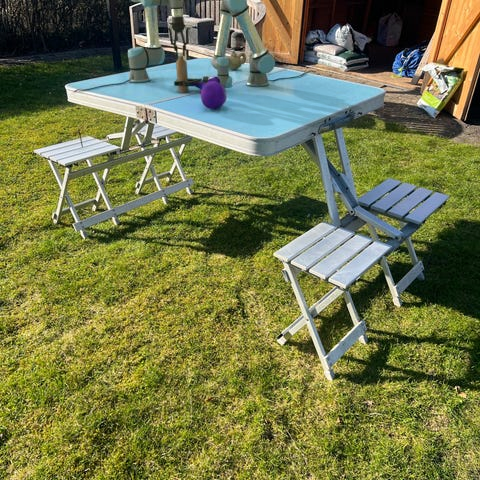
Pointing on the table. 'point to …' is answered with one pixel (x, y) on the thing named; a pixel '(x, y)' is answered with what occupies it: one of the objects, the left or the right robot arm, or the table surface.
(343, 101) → the table surface
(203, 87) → the toy
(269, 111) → the table surface
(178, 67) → the bottle
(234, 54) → the beige rounded piece
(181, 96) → the table surface
